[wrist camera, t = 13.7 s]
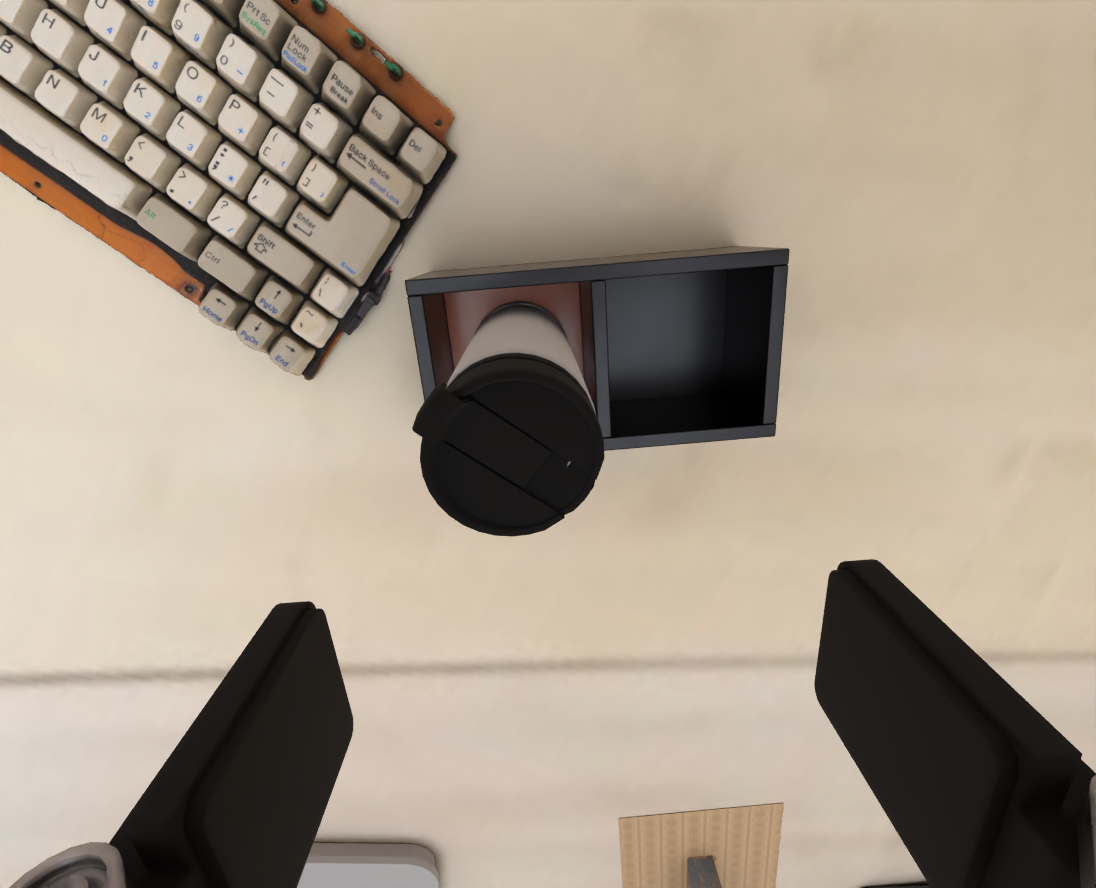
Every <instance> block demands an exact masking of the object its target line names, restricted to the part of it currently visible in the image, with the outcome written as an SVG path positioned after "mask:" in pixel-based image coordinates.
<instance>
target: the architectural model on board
mask: <svg viewBox="0 0 1096 888" xmlns="http://www.w3.org/2000/svg"><path fill="white" fill-rule="evenodd" d="M782 813H783V803H780V804H769V805H759V806H748V807H737V808H727V809H716V810H705V811H695V812H684V813H673V814H663V815H652V816H642V817H631V818H620V819H619V825H620V843H621V860H622V878H623V888H775V883H776V873H777V863H778V853H779V843H780V833H781V823H782Z"/></svg>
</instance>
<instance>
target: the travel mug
mask: <svg viewBox="0 0 1096 888" xmlns="http://www.w3.org/2000/svg"><path fill="white" fill-rule="evenodd" d="M412 429H413V431H414V432H415V433H417V434H418V435H420V436H422V443H421V453H420V462H421V468H422V474H423V478H424V480H425V483H426V485H427V488H428V490H429V492H430V494H431V495H432V497H433V498H434V499H435V501H436V502H437V504H438V505H439V506H440V507H441V508H442V509H443V510H444V511H445V512H446V513H447V514H448V515H449V516H450V517H452V518H453V519H455V520H456V521H458V522H459V523H461V524H463V525H464V526H467V527H469V528H471V529H474V530H476V531H479V532H483V533H487V534H491V535H497V536H520V535H529V534H533V533H536V532H540V531H543V530H546V529H548V528H549V527H551V526H552V525H554V524H556V523H557V522H559V521H560V520H562V519H564V518H565V517H564V515H565V514H567V513H570V512H572V511H574V510H575V509H576V508H577V507H578V506H579V505H580V504H581V503H582V502H583V501H584V500H585V498H586V497H587V496H588V494H589V493H590V491H591V490H592V488H593V487H594V483H595V479H597V477H598V474H599V471H600V469H601V466H602V463H603V460H604V440H603V435H602V431H601V427H600V424H599V422H598V419H597V416H596V413H595V408H594V405H593V402H592V400H591V397H590V395H589V392H588V389H587V387H586V384H585V382H584V379H583V377H582V374H581V372H580V369H579V367H578V364H577V362H576V359H575V357H574V354H573V352H572V349H571V347H570V344H569V342H568V339H567V337H566V334H565V332H564V330H563V328H562V326H561V324H560V323H559V321H558V320H557V318H556V317H555V316H554V315H553V314H552V313H551V312H549V311H548V310H547V309H545V308H543V307H542V306H540V305H537V304H534V303H531V302H524V301H517V302H510V303H506V304H503V305H501V306H499V307H497V308H495V309H493V310H492V311H491V312H490V313H488V314H487V315H486V316H485V318H484V319H483V320H482V321H481V323H480V325H479V326H478V328H477V330H476V332H475V334H474V336H473V337H472V339H471V341H470V343H469V345H468V347H467V348H466V350H465V352H464V354H463V356H462V358H461V359H460V361H459V363H458V365H457V367H456V369H455V370H454V372H453V374H452V376H451V378H450V379H449V381H448V383H447V384H445V383H444V382H443V383H441V384H440V385H438V386H437V387H436V388H434V390H433V391H432V392H431V394H430V395H429V396H428V398H427V399H426V400H425V402H424V404H423V405H422V407H421V408H420V410H419V412H418V413H417V416H416V419H415V422H414V425H413V428H412Z"/></svg>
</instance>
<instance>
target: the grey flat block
mask: <svg viewBox="0 0 1096 888" xmlns="http://www.w3.org/2000/svg"><path fill="white" fill-rule="evenodd" d="M297 888H440V878H439V874H438V871H437V870H436V869H435V857H434V855H433V854H432V853H431V851H429V850H428V849H426V848H425V847H422V846H419V845H415V844H372V843H313V845H312V848H311V850H310V853H309V856H308V859H307V861H306V864H305V867H304V870H303V872H302V875H301V878H300V880H299V883H298V886H297Z"/></svg>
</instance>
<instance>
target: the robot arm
mask: <svg viewBox="0 0 1096 888" xmlns="http://www.w3.org/2000/svg"><path fill="white" fill-rule="evenodd" d="M815 692H816V696H817V699H818V701H819V703H820V705H821V707H822V709H823V710H824V712H825V714H826V715H827V717H828V719H829V720H830V722H831V724H832V725H833V727H834V729H835V730H836V732H837V733H838V735H839V737H840V738H841V740H842V742H843V743H844V745H845V747H846V748H847V750H848V752H849V753H850V755H851V757H852V758H853V760H854V762H855V763H856V765H857V766H858V768H859V770H860V771H861V773H862V775H863V776H864V778H865V780H866V781H867V783H868V785H869V786H870V788H871V790H872V791H873V793H874V795H875V796H876V798H877V799H878V801H879V803H880V804H881V806H882V808H883V809H884V811H885V813H886V814H887V816H888V818H889V819H890V821H891V823H892V824H893V826H894V828H895V829H896V831H897V832H898V834H899V836H900V837H901V839H902V841H903V842H904V844H905V846H906V847H907V849H908V851H909V852H910V854H911V856H912V857H913V859H914V861H915V862H916V864H917V865H918V867H919V869H920V870H921V872H922V874H923V875H924V877H925V879H926V880H927V882H928V884H929V885H930V887H931V888H1096V773H1095V772H1094V771H1093V770H1092V769H1091V768H1090V767H1089V766H1088V765H1087V764H1085V763H1084V762H1083V761H1082V760H1081V756H1082V753H1081V752H1080V751H1079V750H1077V749H1076V748H1075V747H1074V746H1073V745H1072V744H1071V743H1070V742H1069V741H1068V740H1067V739H1066V738H1065V737H1064V736H1063V735H1062V734H1061V733H1060V732H1059V731H1057V730H1056V729H1055V728H1054V727H1053V726H1052V725H1051V724H1050V723H1049V722H1048V721H1047V720H1046V719H1045V718H1044V717H1043V716H1042V715H1041V714H1040V713H1039V712H1037V711H1036V710H1035V709H1034V708H1033V707H1032V706H1031V705H1030V704H1029V703H1028V702H1027V701H1026V700H1025V699H1024V698H1023V697H1022V696H1021V695H1020V694H1019V693H1017V692H1016V691H1015V690H1014V689H1013V688H1012V687H1011V686H1010V685H1009V684H1008V683H1007V682H1006V681H1005V680H1004V679H1003V678H1002V677H1001V676H1000V675H999V674H997V673H996V672H995V671H994V670H993V669H992V668H991V667H990V666H989V665H988V664H987V663H986V662H985V661H984V660H983V659H982V658H981V657H980V656H978V655H977V654H976V653H975V652H974V651H973V650H972V649H971V648H970V647H969V646H968V645H967V644H966V643H965V642H964V641H963V640H962V639H961V638H960V637H958V636H957V635H956V634H955V633H954V632H953V631H952V630H951V629H950V628H949V627H948V626H947V625H946V624H945V623H944V622H943V621H942V620H941V619H940V618H938V617H937V616H936V615H935V614H934V613H933V612H932V611H931V610H930V609H929V608H928V607H927V606H926V605H925V604H924V603H923V602H922V601H921V600H920V599H918V598H917V597H916V596H915V595H914V594H913V593H912V592H911V591H910V590H909V589H908V588H907V587H906V586H905V585H904V584H903V583H902V582H901V581H900V580H898V579H897V578H896V577H895V576H894V575H893V574H892V573H891V572H890V571H889V570H888V569H887V568H886V567H885V566H884V565H883V564H882V563H880V562H879V561H877V560H873V559H871V560H858V561H844V562H842V563H840V564H839V566H838V568H837V570H834V571H831V573H830V575H829V579H828V587H827V594H826V602H825V609H824V616H823V624H822V631H821V639H820V646H819V653H818V661H817V668H816V675H815ZM352 732H353V716H352V712H351V708H350V704H349V701H348V697H347V693H346V690H345V686H344V682H343V678H342V675H341V671H340V667H339V664H338V660H337V656H336V652H335V649H334V645H333V641H332V638H331V634H330V630H329V626H328V623H327V619H326V615H325V613H324V611H323V610H322V609H316V608H315V605H314V604H313V603H312V602H309V601H307V602H293V603H280V604H277V605H276V606H275V607H274V608H273V609H272V611H271V612H270V614H269V615H268V616H267V618H266V619H265V621H264V622H263V624H262V625H261V626H260V628H259V629H258V631H257V632H256V634H255V635H254V636H253V638H252V639H251V641H250V642H249V644H248V645H247V646H246V648H245V649H244V651H243V652H242V654H241V655H240V656H239V658H238V659H237V661H236V662H235V664H234V665H233V666H232V668H231V669H230V671H229V672H228V674H227V675H226V676H225V678H224V679H223V681H222V682H221V684H220V685H219V686H218V688H217V689H216V691H215V692H214V694H213V695H212V696H211V698H210V699H209V701H208V702H207V704H206V705H205V706H204V708H203V709H202V711H201V712H200V714H199V715H198V716H197V718H196V719H195V721H194V722H193V724H192V725H191V726H190V728H189V729H188V731H187V732H186V734H185V735H184V736H183V738H182V739H181V741H180V742H179V744H178V745H177V746H176V748H175V749H174V751H173V752H172V754H171V755H170V756H169V758H168V759H167V761H166V762H165V764H164V765H163V767H162V768H161V769H160V771H159V772H158V774H157V775H156V777H155V778H154V779H153V781H152V782H151V784H150V785H149V787H148V788H147V789H146V791H145V792H144V794H143V795H142V797H141V798H140V799H139V801H138V802H137V804H136V805H135V807H134V808H133V809H132V811H131V812H130V814H129V815H128V817H127V818H126V819H125V821H124V822H123V824H122V825H121V827H120V828H119V830H118V831H117V833H116V834H115V835H114V837H113V838H112V840H111V841H110V843H109V844H108V843H99V842H89V843H86V844H82V845H78V846H75V847H71V848H69V849H67V850H64V851H62V852H60V853H58V854H56V855H54V856H52V857H50V858H48V859H46V860H45V861H43V862H42V863H40V864H39V865H37V866H36V867H34V868H33V869H31V870H30V871H28V872H27V873H25V874H24V875H23V876H22V877H21V878H20V879H18V880H17V881H16V882H15V883H14V884H13V885H12V886H10V887H9V888H297V886H298V883H299V880H300V878H301V875H302V872H303V870H304V867H305V864H306V861H307V859H308V856H309V853H310V850H311V848H312V845H313V842H314V839H315V837H316V834H317V831H318V828H319V826H320V823H321V820H322V817H323V815H324V812H325V809H326V806H327V804H328V801H329V798H330V795H331V793H332V790H333V787H334V784H335V782H336V779H337V776H338V773H339V771H340V768H341V765H342V762H343V760H344V757H345V754H346V751H347V749H348V746H349V743H350V740H351V737H352Z"/></svg>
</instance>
